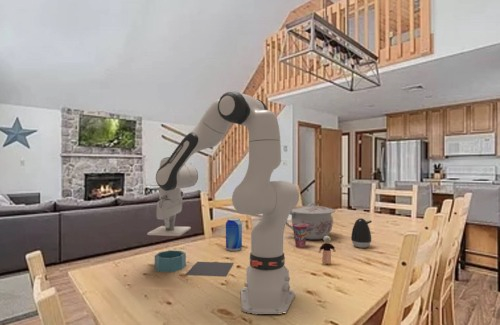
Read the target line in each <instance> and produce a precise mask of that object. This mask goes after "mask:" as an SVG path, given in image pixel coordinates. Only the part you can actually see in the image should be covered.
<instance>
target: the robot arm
mask: <svg viewBox="0 0 500 325" xmlns="http://www.w3.org/2000/svg"><path fill="white" fill-rule="evenodd" d="M233 124H236V125H239V126H244V127H246V128H247V131H248V166H247V170H246V173H245V175H244V177H243V178H242V181H241V182H240V183H239V184H238V185H237V186H236V187H235V188H234V190H233V192H232V196H231V202H232V206H233V209H235V211H236V212H237V213H238V214H241V215H246V216H247V215H249V216H256V215H257V216H258V215H262V216H261V219H260V220H259V222H258V223H257V224H256V225H255V226H254V227H253V228H252V229H251V231H250V249H251V250H250V254H249V266H248V267H246V282H244V287H243V288H241V289H240V292H239V293H240V304H241V306H240V307H241V311H242V312H244V313H246V312H247V313H248V314H250V313H252V314H251V315H257V314H279V313H283V312H286V311H287V310H288V311H289V309H290V307H291V305H292V303H293V301H294V298H295V296H296V292H295V291H294V290H293V289H292V290H291V289H290V288H291V286H290V272H289V271H290V270H289V269H288V268H287V266H285V259H286V258H285V253H284V233H285V228H286V221H287V222H288V218H289V216H290V212H291V211H292V210H293V208H294V207H297V206H298V203H299V201H300V200H299V199H300V193H299V190H298V188H297V186H296V185H295V184H294V183H293V182H288V181H286V180H285V181H283V180H273V181H272V180H271V176H272V174H273V172H274V171H275V170H276V169H277V168H278V167H279V166H280V165H281V163H282V152H281V151H282V150H281V148H282V146H281V132H280V126H279V121H278V117H277V114H276V113H274V112H273V111H271V110H269V109H268V106H267V105H266V104H265V103H264V102H263V101H261V100H260V99H258V98H255V97H253V96H251V95H249V94H246V93H241V92H238V91H228V92H225V93H224V94H222V95H221V96H220V98H217V99H215V100H214V101H213V102H212V103H211V104H210V106H209V107H208V108H207V109H206V111H205V113H204V114H203V116H202V118H201V119H200V121H199V122H198V123H197V125H196V126H195V127H194V128H193V129H192V130H191V131H190V132H189V133H188V134H187V135H186V136H184V137H183V139H182V140H181V142H180V143H179V144H178V145H177V146H176V148H175V149H174V151H173V152H172V154H170V156H169V157H164V158H162V159H161V160H160V162H159V168H158V169H157V171H156V173H155V181H156V184H157V186H158V190H159V191H158V193H159V195H158V196H159V198H158V199H159V200H158V201H157V203H156V204H157V205H156V212H155V213H156V214H155V215H156V219H157V220H162V221H163V222H164V226H165V227H166V228H169V227H170V222H169V220H170V219H174V225H175V224H176V223H175V222H176V217H177V214H179V213H180V214H181V212H182V210H183V197H184V191H183V190H181V189H185V188H192V187H195V185H196V184H197V183H198V180H199V172H198V170H197V169H196V167H195V166H194V165H191V164H189V163H187V162H188V160H189V159H190V158H191V157H192V156H193V155H194V154H196V153H198V152H200V151H203V150H206V149H210V148H214V147H216V146H218V145H219V143H220V142H222V140H223V139H224V138H225V136H226V135H227V132H228V130H229V129H230V127H231V126H232V125H233ZM292 300H293V301H292ZM291 302H292V303H291ZM290 304H291V305H290ZM289 306H290V307H289ZM288 308H289V309H288ZM288 311H287V312H288Z"/></svg>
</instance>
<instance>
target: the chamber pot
mask: <svg viewBox="0 0 500 325" xmlns="http://www.w3.org/2000/svg"><path fill="white" fill-rule="evenodd" d="M335 212H336V209H334V208H331V207H326V206H321V205H317V204H316V203H313V202H311V203H309V204H308V205H301V206H295V207H294V208H293V210H292V211H291V212H290V214H289V216H291V225H290V224H289V222H288V220H287V221H286V224H285V226H287V227H289V228H290V229H291V230H292V231H293V232H294V230H293V225H292V224H295V223H305V224H310V225H308V228H307V236H306V240H309V241H319V240H324V239H323V238H324V237H325V236H329V235H330V233H331V232H332V229H333V224H334V218H333V216H332V214H333V213H335Z"/></svg>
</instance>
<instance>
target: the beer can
mask: <svg viewBox="0 0 500 325" xmlns="http://www.w3.org/2000/svg"><path fill="white" fill-rule="evenodd" d="M242 224H243V223H242V221H241V219H240V218H239V217H229V218H227V219H226V223H225V248H226V249H227V251H229V252H237V251H241V249H242V248H243V229H242V228H243V226H242Z"/></svg>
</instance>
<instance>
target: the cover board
mask: <svg viewBox="0 0 500 325" xmlns="http://www.w3.org/2000/svg"><path fill="white" fill-rule="evenodd" d="M169 222H170V227H169V228H166V227H165V225H161V226H158V227H156V228H155V229H152V230H150V231H149V232H147V233H146V234H147V236H166V237H169V236H170V237H171V236H172V237H180V236H182V235H184V234H185V233H186V232H188V231H189V230H191V229H192V228H191V226H177V225H175V224H174V219H171V218H170V220H169Z"/></svg>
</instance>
